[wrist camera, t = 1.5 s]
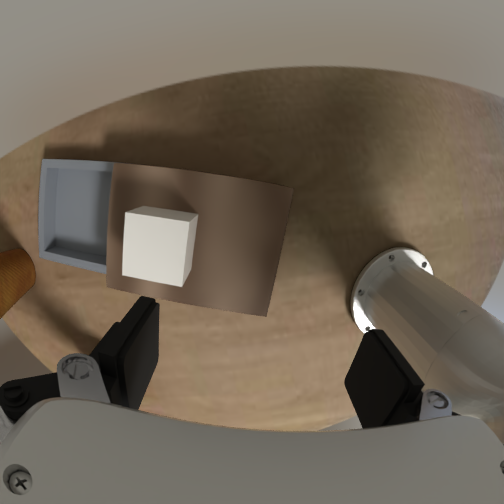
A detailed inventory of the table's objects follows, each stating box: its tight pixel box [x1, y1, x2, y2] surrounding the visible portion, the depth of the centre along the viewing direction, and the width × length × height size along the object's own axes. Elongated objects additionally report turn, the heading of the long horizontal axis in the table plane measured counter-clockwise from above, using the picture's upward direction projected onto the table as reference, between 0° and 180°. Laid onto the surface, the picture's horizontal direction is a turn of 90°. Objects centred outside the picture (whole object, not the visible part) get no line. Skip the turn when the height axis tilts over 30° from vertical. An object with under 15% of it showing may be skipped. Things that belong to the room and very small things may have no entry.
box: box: [38, 159, 132, 274], centre depth 27 cm, size 12×12×3 cm
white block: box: [122, 206, 198, 287], centre depth 22 cm, size 5×5×4 cm
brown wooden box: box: [106, 163, 294, 317], centre depth 26 cm, size 16×12×6 cm
